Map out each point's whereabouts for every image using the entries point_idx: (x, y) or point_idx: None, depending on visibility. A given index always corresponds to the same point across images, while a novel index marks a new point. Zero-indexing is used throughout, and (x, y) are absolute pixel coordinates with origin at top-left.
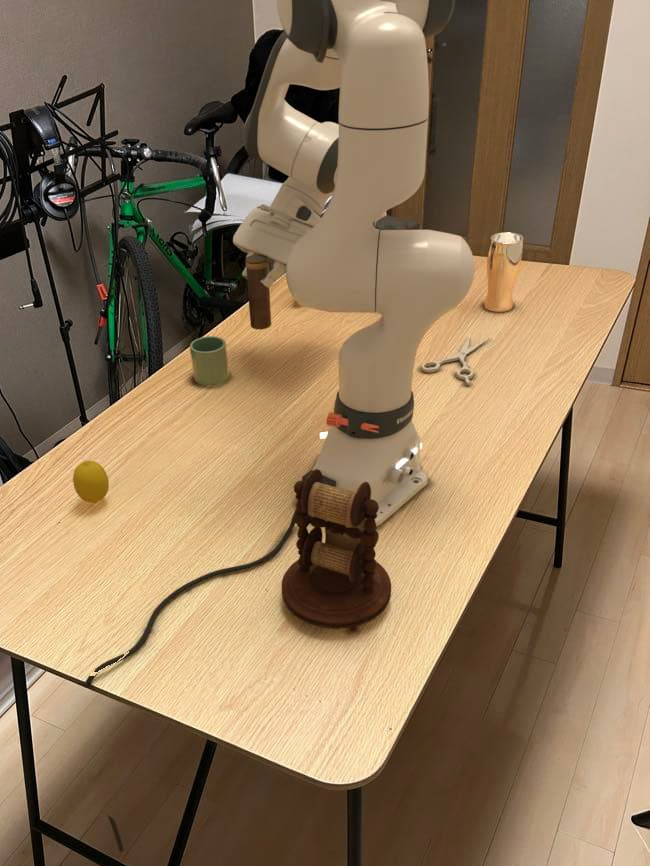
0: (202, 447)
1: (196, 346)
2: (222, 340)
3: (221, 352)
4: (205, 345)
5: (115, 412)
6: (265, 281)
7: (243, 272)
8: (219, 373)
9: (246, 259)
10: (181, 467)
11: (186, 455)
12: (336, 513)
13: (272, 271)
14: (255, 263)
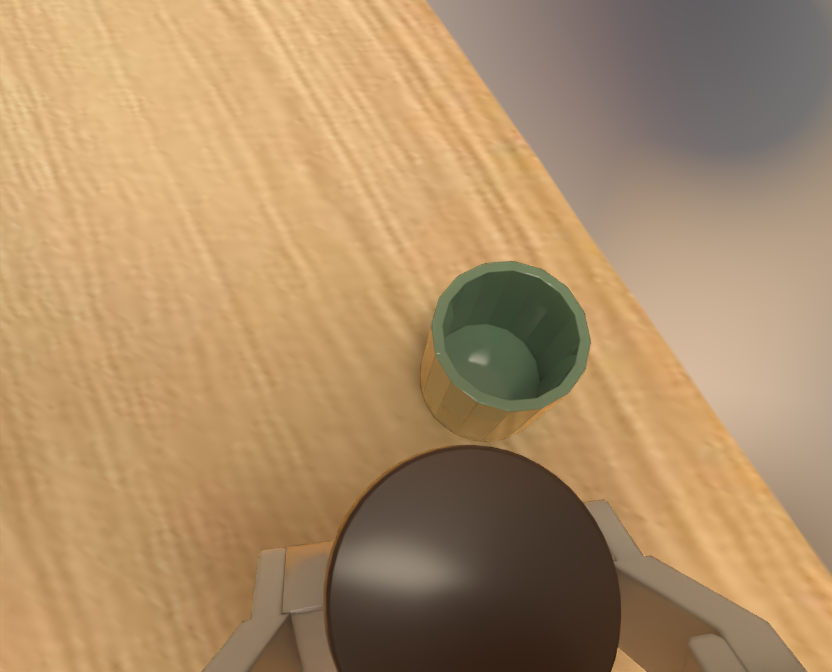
0: (131, 166)
1: (564, 319)
2: (506, 400)
3: (433, 360)
4: (566, 362)
5: (467, 80)
6: (261, 561)
7: (603, 510)
8: (423, 366)
9: (522, 464)
10: (92, 87)
11: (131, 119)
12: None
13: (220, 668)
14: (359, 503)
